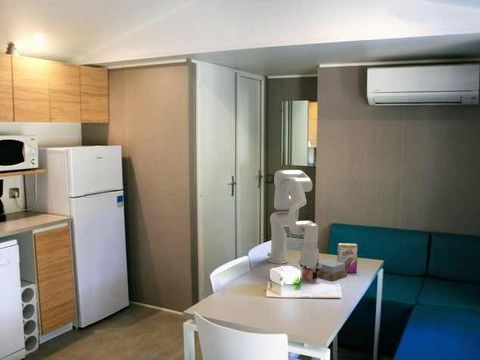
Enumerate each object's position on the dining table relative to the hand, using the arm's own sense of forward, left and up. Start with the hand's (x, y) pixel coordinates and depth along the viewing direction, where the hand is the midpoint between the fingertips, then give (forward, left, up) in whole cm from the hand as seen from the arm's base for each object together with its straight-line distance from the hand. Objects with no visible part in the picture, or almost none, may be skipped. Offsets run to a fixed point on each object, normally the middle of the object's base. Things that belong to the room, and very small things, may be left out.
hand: (309, 277), depth 260 cm
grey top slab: (+4, +14, +2) cm, 15 cm away
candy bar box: (+6, +29, -1) cm, 30 cm away
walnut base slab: (+4, +14, -2) cm, 15 cm away
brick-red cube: (0, 0, -1) cm, 1 cm away
